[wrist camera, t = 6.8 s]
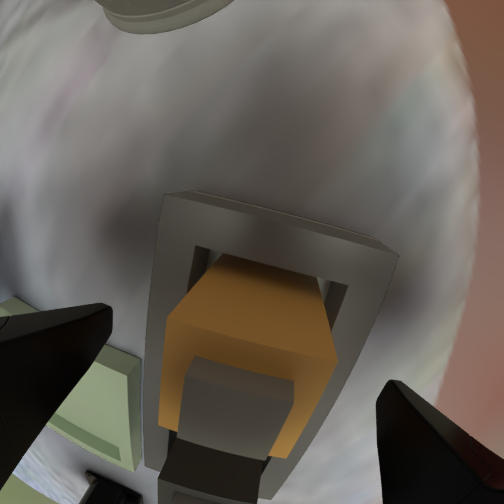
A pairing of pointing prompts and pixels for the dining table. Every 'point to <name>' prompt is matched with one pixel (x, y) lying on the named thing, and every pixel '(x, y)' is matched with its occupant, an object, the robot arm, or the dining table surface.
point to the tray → (100, 404)
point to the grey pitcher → (158, 13)
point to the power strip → (274, 254)
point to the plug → (246, 359)
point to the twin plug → (207, 476)
